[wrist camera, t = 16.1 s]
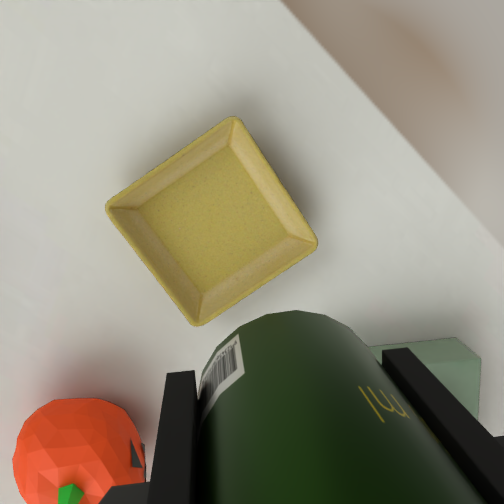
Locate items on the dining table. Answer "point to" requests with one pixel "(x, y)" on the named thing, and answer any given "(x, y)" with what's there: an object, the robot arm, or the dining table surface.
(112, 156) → the dining table surface
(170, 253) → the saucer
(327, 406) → the green soda can
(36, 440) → the pumpkin
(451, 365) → the button base
